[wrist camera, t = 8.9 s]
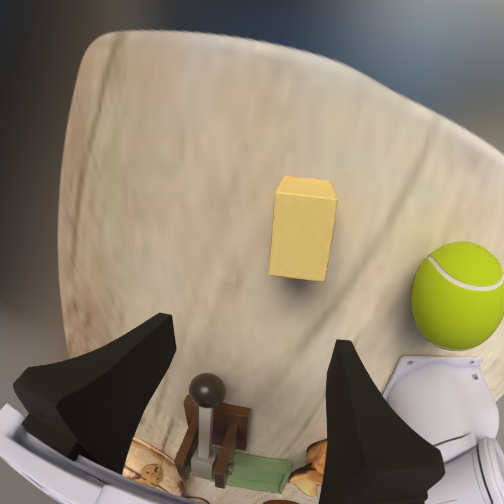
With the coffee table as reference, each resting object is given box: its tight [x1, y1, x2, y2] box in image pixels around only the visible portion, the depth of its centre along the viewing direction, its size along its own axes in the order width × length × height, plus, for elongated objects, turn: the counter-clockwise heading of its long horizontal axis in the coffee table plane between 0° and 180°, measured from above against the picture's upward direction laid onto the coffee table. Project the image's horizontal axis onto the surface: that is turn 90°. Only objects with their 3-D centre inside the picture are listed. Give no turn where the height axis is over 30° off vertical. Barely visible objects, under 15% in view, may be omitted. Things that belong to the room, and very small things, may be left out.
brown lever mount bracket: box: [174, 395, 251, 489], centre depth 27 cm, size 8×7×8 cm
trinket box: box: [122, 437, 186, 496], centre depth 36 cm, size 13×15×8 cm
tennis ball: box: [411, 242, 504, 351], centre depth 16 cm, size 7×7×7 cm
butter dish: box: [210, 448, 292, 494], centre depth 34 cm, size 11×9×2 cm
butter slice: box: [269, 176, 337, 282], centre depth 17 cm, size 3×4×5 cm, turn 177°
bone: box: [288, 439, 327, 497], centre depth 26 cm, size 12×10×8 cm
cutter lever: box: [189, 373, 226, 480], centre depth 24 cm, size 13×3×3 cm, turn 177°
